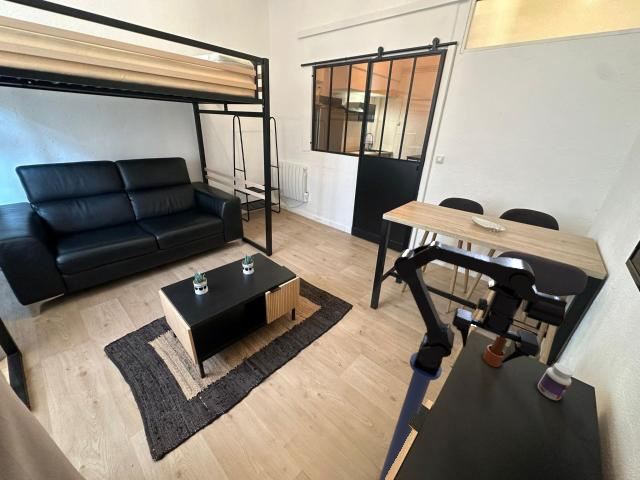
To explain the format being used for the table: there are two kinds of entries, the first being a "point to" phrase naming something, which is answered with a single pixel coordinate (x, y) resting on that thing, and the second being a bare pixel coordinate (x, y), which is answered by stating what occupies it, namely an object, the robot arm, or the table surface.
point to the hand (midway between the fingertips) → (482, 353)
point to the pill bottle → (555, 381)
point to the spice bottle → (498, 345)
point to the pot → (492, 357)
